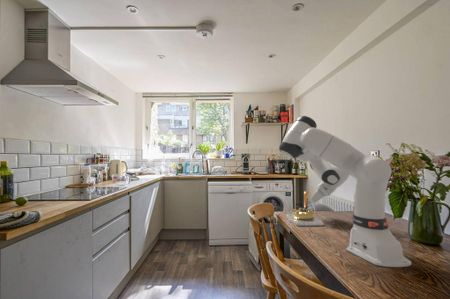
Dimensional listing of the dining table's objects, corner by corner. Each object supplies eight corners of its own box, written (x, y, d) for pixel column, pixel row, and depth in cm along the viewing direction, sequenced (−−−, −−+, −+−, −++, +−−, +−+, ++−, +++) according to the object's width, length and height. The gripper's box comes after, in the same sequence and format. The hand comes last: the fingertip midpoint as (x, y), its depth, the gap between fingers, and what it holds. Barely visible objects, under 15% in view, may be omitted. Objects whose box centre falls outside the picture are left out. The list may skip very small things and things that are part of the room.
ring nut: (316, 215, 149) (316, 192, 150) (312, 220, 136) (312, 195, 136) (296, 212, 155) (296, 190, 156) (290, 217, 142) (290, 193, 142)
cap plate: (323, 225, 134) (323, 221, 135) (296, 225, 134) (296, 222, 134) (309, 216, 154) (309, 213, 155) (286, 216, 154) (286, 213, 154)
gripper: (323, 183, 156) (307, 197, 161) (319, 186, 138) (302, 202, 143) (330, 190, 154) (314, 204, 158) (327, 194, 136) (310, 210, 140)
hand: (308, 203), depth 150 cm, fingers closed, pressing on ring nut
